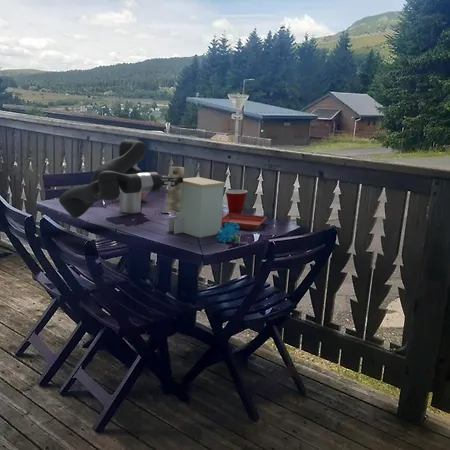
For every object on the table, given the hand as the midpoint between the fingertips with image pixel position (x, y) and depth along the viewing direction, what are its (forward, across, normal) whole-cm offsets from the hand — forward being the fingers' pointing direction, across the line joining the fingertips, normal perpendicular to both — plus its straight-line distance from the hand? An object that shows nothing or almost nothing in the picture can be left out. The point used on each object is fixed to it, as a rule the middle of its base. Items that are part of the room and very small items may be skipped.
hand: (180, 179), depth 213 cm
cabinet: (+5, +4, -22) cm, 22 cm away
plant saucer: (+33, +6, -22) cm, 40 cm away
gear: (+6, +22, -22) cm, 32 cm away
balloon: (+20, -61, -22) cm, 68 cm away
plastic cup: (+44, -10, -22) cm, 50 cm away
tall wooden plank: (-3, 0, -13) cm, 13 cm away
